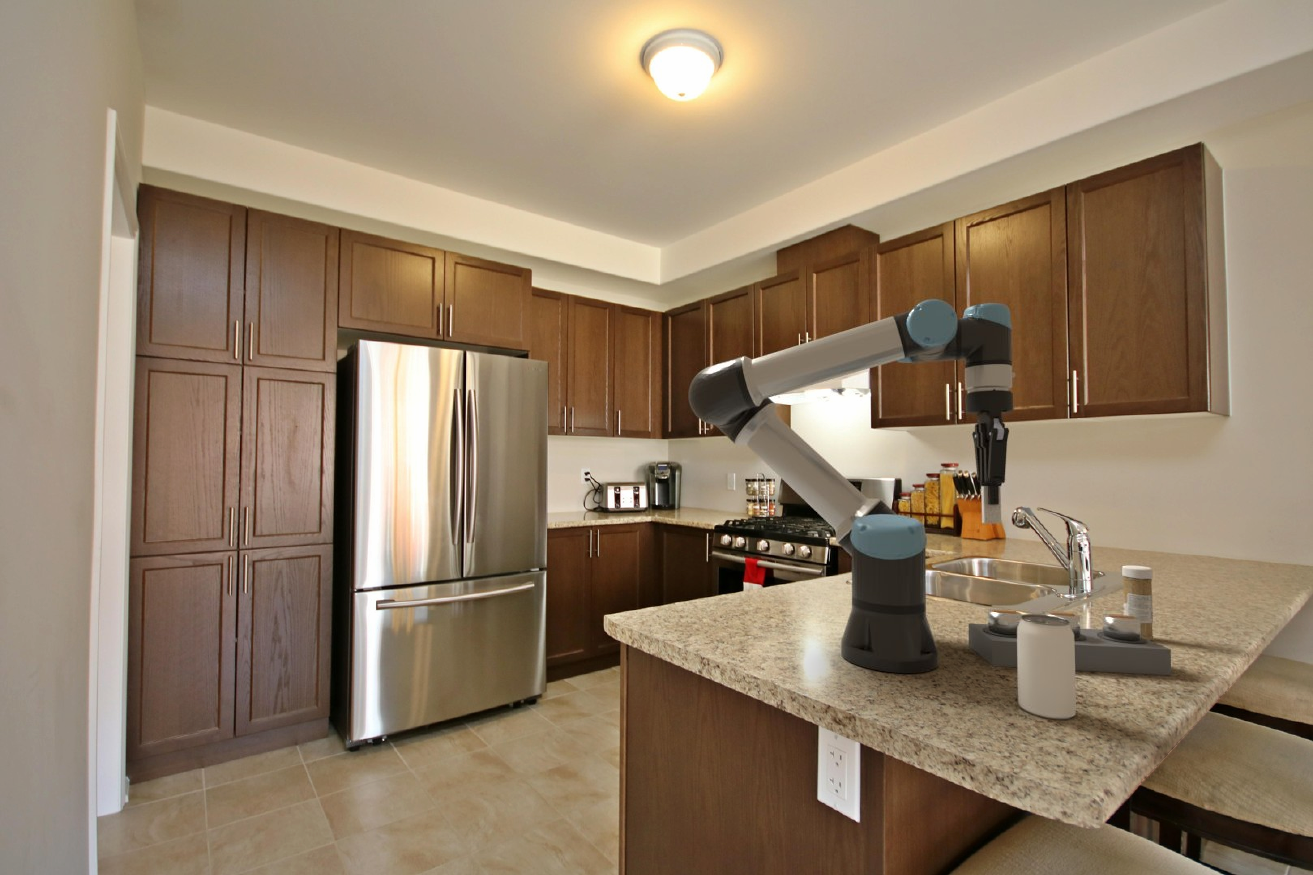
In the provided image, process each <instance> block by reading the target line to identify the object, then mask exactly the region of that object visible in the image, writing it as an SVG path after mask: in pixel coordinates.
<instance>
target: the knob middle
mask: <svg viewBox="0 0 1313 875" xmlns="http://www.w3.org/2000/svg"><path fill="white" fill-rule="evenodd" d="M1044 615H1049V616H1055V617H1060V618H1063V619H1066V620H1068V621H1070V624H1069V625H1070V628H1071V630H1072V631H1073V634H1074V637H1079V636H1080V628H1081V616H1080V615H1077V614H1075V613H1073V612H1064V611H1053V610H1052V611H1051V610H1050V611H1045V612H1044Z"/></svg>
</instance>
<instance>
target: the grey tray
mask: <svg viewBox="0 0 1313 875" xmlns="http://www.w3.org/2000/svg"><path fill="white" fill-rule="evenodd" d="M1074 644H1075V671H1083V672H1100V673H1101V672H1102V673H1119V674H1135V675H1136V674H1138V675H1139V674H1141V675H1154V676H1155V675H1156V676H1157V675H1158V676H1172V652H1171V650H1172V649H1170V648H1168V647H1166V646H1164V645H1162V644H1160V643H1157V642H1155V641H1153V640H1148V639H1146V638H1144V637H1141V639H1140V640H1124V639H1118V638H1113V637H1109V636H1106V635H1104V634H1103V628H1102V629H1101V628H1100V629H1097V628H1081V627H1080V636H1079V637H1074ZM968 647H969V648H971V649H972V650H973V651H974V652H975V653H977V654H978V655H979V656H980V657H981V658H983V659H984V660H986V662H988V664H990V665H991V666H993V667H995V666H996V667H1011V668H1018V667H1017V634H1003V633H998V632H994V631H991V630H989V629H988V623H970V622H969V623H968Z"/></svg>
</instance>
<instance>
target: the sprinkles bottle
mask: <svg viewBox="0 0 1313 875" xmlns="http://www.w3.org/2000/svg"><path fill="white" fill-rule="evenodd" d="M1121 572H1122V573H1121V575H1122V576H1123V578H1122V579H1123V615H1127V616H1134V617H1136V618H1138V619H1140V632H1141V637H1144V638H1146V639H1148V640H1150V641H1153V640H1154V635H1153V622H1154V620H1153V619H1154V618H1153V617H1154V616H1153V613H1154V611H1153V592H1152V591H1153V589H1152V588H1153V587H1152V586H1153V585H1152V581H1153V577H1154V576H1153V568H1152V567H1148V566H1144V565H1143V566H1142V565H1141V566H1140V565H1132V564H1131V565H1129V564H1127V565H1123V566H1121Z"/></svg>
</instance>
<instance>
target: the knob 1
mask: <svg viewBox="0 0 1313 875" xmlns="http://www.w3.org/2000/svg"><path fill="white" fill-rule="evenodd" d="M1021 615H1023V614H1022V613H1021V612H1018V611H1017V610H1010V609H1004V608H991V609H988V610H987V624H988V629H989V630H991V631H994V632H998V633H1003V634H1017V627H1018V625H1019V623H1020V621H1021Z"/></svg>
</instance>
